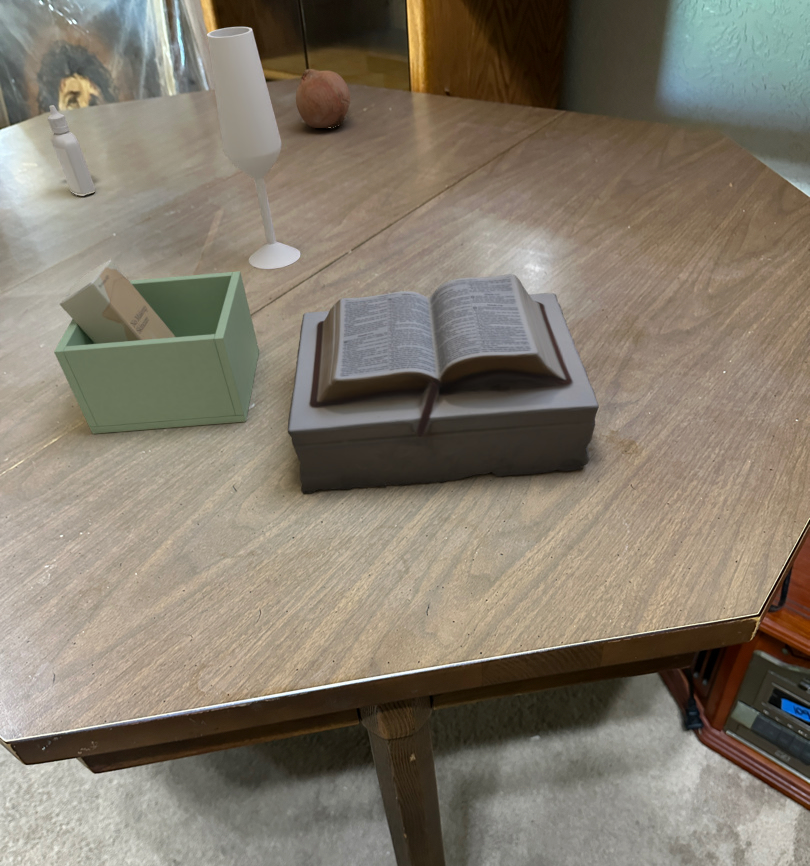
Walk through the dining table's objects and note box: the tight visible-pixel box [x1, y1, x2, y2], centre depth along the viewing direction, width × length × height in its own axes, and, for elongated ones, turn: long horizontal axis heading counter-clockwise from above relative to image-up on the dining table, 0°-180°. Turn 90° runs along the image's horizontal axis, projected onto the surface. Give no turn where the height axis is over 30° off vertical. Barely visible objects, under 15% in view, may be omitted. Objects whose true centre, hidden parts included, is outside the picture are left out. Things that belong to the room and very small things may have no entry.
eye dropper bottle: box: [46, 104, 96, 194], centre depth 109 cm, size 4×6×12 cm
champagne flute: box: [206, 26, 301, 270], centre depth 83 cm, size 7×7×24 cm
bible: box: [287, 273, 600, 494], centre depth 63 cm, size 23×27×10 cm
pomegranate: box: [295, 68, 351, 129], centre depth 125 cm, size 10×9×10 cm
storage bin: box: [53, 270, 260, 435], centre depth 69 cm, size 15×13×9 cm
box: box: [59, 259, 175, 344], centre depth 67 cm, size 5×4×11 cm
